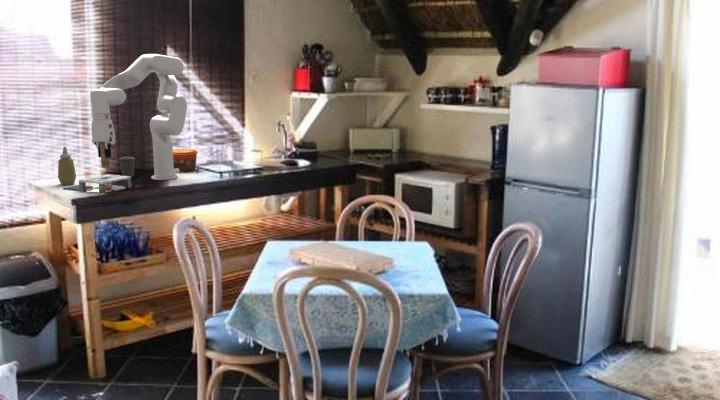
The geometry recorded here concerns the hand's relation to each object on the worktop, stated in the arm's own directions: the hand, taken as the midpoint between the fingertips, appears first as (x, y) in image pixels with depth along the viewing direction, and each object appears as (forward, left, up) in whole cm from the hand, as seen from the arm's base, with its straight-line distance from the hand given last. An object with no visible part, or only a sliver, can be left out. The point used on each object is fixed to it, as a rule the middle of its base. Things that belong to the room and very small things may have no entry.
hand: (104, 156), depth 322 cm
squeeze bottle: (-1, -26, -15) cm, 30 cm away
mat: (+5, -13, -15) cm, 20 cm away
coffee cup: (-32, -17, -15) cm, 40 cm away
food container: (-60, -4, -15) cm, 62 cm away
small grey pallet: (+1, 0, -15) cm, 15 cm away
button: (+1, 0, -15) cm, 15 cm away
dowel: (0, 0, -5) cm, 5 cm away
